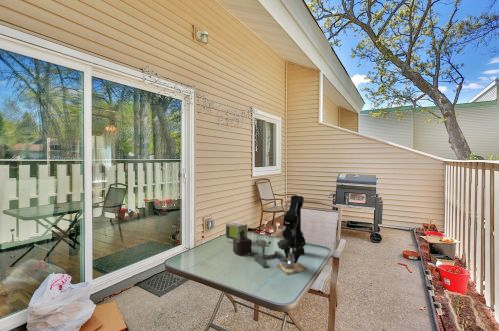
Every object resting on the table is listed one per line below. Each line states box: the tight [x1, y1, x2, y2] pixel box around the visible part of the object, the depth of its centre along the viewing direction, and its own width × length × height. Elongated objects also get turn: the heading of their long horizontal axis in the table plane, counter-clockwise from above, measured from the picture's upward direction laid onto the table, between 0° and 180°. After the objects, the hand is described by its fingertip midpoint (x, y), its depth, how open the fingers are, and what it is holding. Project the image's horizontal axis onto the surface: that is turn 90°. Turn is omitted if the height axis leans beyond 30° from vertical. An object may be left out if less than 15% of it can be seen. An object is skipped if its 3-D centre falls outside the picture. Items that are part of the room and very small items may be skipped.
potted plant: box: [232, 229, 253, 256], centre depth 176 cm, size 16×11×18 cm
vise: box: [254, 250, 288, 268], centre depth 161 cm, size 17×12×4 cm
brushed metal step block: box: [281, 251, 295, 269], centre depth 150 cm, size 7×3×8 cm, turn 114°
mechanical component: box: [255, 239, 272, 256], centre depth 172 cm, size 3×10×10 cm, turn 79°
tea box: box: [225, 221, 248, 244], centre depth 200 cm, size 15×10×15 cm
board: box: [275, 261, 308, 275], centre depth 151 cm, size 14×12×1 cm
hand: (291, 260), depth 151 cm, fingers open, 8 cm apart
